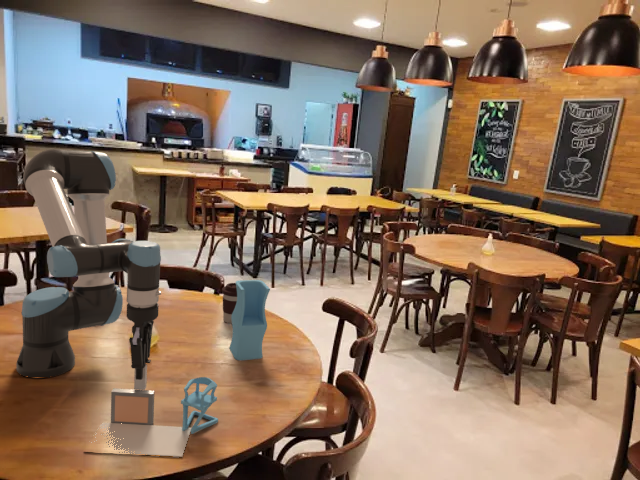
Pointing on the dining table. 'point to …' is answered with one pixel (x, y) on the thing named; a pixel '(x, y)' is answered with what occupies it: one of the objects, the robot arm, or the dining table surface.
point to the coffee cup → (229, 301)
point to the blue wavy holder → (249, 320)
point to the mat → (148, 438)
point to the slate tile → (132, 406)
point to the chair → (199, 404)
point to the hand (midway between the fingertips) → (140, 387)
